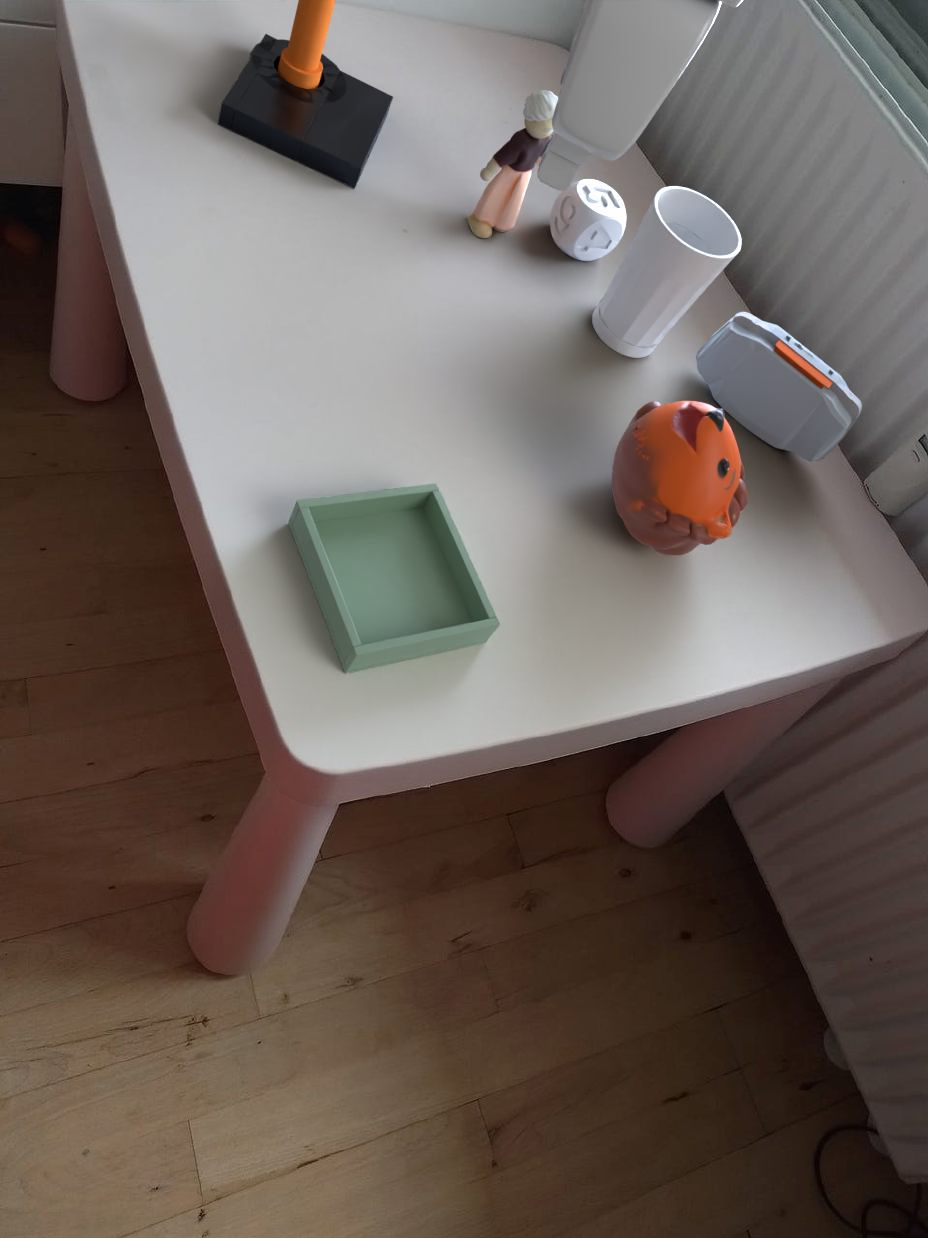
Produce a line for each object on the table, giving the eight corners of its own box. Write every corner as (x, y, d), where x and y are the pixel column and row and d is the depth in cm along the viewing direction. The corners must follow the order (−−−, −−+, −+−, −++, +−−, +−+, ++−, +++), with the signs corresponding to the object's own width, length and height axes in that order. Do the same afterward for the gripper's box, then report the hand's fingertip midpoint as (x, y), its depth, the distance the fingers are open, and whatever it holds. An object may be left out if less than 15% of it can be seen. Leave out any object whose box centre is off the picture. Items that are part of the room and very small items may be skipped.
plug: (267, 92, 84) (300, -57, 74) (280, 71, 86) (314, -77, 76) (309, 112, 85) (347, -33, 75) (320, 91, 87) (359, -53, 77)
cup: (569, 297, 86) (637, 183, 76) (638, 296, 90) (712, 188, 80) (607, 366, 83) (683, 257, 74) (677, 363, 87) (758, 258, 77)
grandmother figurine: (483, 251, 85) (546, 122, 74) (451, 223, 85) (508, 90, 75) (530, 222, 89) (594, 96, 79) (498, 196, 89) (559, 67, 79)
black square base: (215, 123, 80) (219, 101, 78) (263, 47, 87) (267, 25, 86) (354, 188, 82) (361, 168, 81) (389, 109, 90) (396, 89, 88)
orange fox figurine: (582, 438, 78) (657, 336, 68) (696, 472, 81) (782, 379, 72) (588, 562, 71) (671, 468, 62) (711, 594, 74) (807, 508, 65)
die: (607, 262, 91) (634, 219, 87) (563, 260, 88) (589, 216, 84) (586, 223, 92) (611, 179, 88) (542, 221, 90) (567, 175, 86)
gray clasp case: (816, 461, 88) (879, 403, 81) (806, 478, 86) (869, 420, 79) (691, 360, 88) (743, 294, 82) (678, 375, 86) (730, 309, 80)
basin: (287, 522, 63) (296, 499, 61) (424, 503, 68) (436, 482, 66) (345, 673, 59) (356, 655, 57) (485, 642, 64) (500, 624, 62)
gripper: (656, -256, 48) (537, 18, 59) (617, -93, 36) (478, 210, 47) (765, -189, 49) (629, 66, 60) (761, -11, 38) (593, 265, 49)
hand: (562, 131), depth 54 cm, fingers open, 8 cm apart
